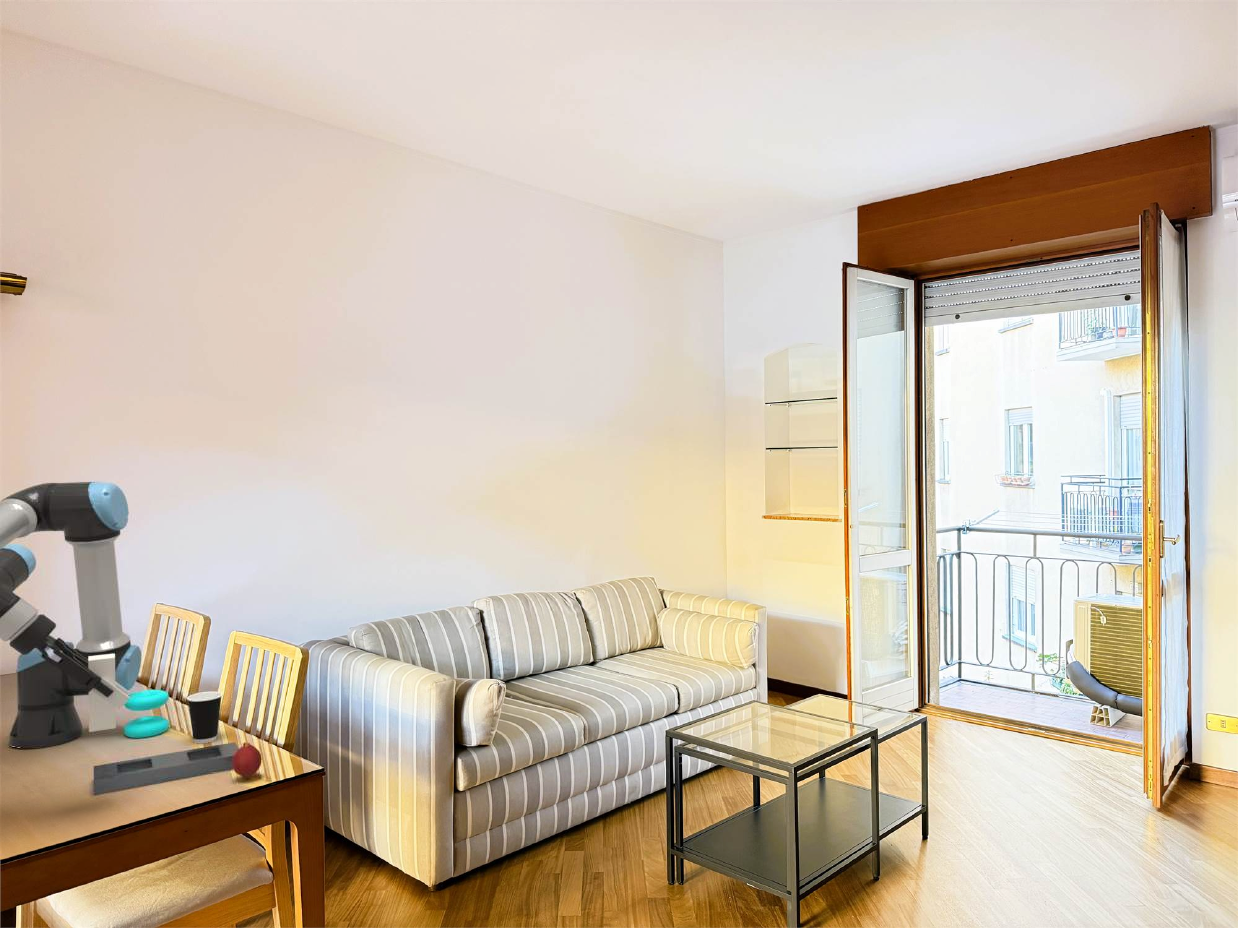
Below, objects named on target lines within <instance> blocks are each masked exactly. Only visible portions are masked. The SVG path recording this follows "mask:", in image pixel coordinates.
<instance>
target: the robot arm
mask: <svg viewBox="0 0 1238 928" xmlns="http://www.w3.org/2000/svg"><path fill="white" fill-rule="evenodd" d="M128 516H129V505H128V501H127V498H126V495H125V493H124V491H123V490H122V489H121V488H120V486H119V485H117V484H115V483H113V482H100V481H83V482H82V481H81V482H80V481H79V482H78V481H77V482H47V483H45V482H44V483H41V484H38V485H33V486H30V487H27V488H24V489H21V490H18V491H16V492H15V493H13V494H10V495H9V496H7V497H4V498H3V499H1V500H0V640H1V641H3V642H7V641H10V642H9V643H8V645H9V646H10V647H11V648H12V649H14V650H15V651H17V652H18V653H20V654H19V656H18V657H17V665H16V672H15V673H16V692H17V693H16V695H17V696H16V697H17V700H16V701H17V714H16V716H15V718H14V721H13V724H12V727H11V731H10V732H9V737H8V741H9V742H8V745H9V744H10V745H11V746H15V747H20V748H32V749H40V748H46V747H53V746H58V745H61V744H65V743H69V742H71V741H74V740H77V739H78V738H79V737H81V736H82V735H83V724H82V720H81V719H80V716H79V714H78V711H77V709H76V706H75V697H77V696H78V697H79V696H89V692H90V691H91V690H93V691H94V692H95V693H97V694H98V695H100V696H101V697H102V698H104V699H105V700H107V701H108V702H109V703H111V704H112V705H114V706H115V707H116V709H118V710H120V709H121V708H122V707H123V706H124V704H125V703H126V702H127V701H128V700H129V699H130V697H129V696H128V695H129V694H130V690H131V689H132V688H133V687H134V685H135V684H136V682H137V680H138V676H139V674H140V671H141V666H142V665H141V664H142V650H141V648H140V647H139V645H136V644H133V645H132V644H131V643H132V642H131V636H130V635H129V634H127V633H125V632H124V630H123V625H122V624H123V623H122V611H121V602H120V601H121V600H120V589H119V578H118V568H117V559H116V548H115V547H116V546H115V541H116V540H117V539H118V538H119V537H120V536H121V531H122V530H123V529H125V528H126V527H127V525H128V521H129V517H128ZM38 532H63V535H64V541H65V542H66V543H68V544H69V545H71V546H72V548H73V558H74V559H73V561H74V567H75V578H76V587H77V588H76V589H77V596H78V597H77V598H78V606H79V607H78V609H79V615H80V617H79V618H80V627H81V634H82V635H81V637H82V638H81V639H80V640H79V641H78V642H77V644H76V646H75V645H74V643H73V642H71V641H65V640H64V639H62V638H61V637H58V638H55V637H53V636H52V635H50V634H51V633H52V632H53V631H54V630H55V629H56V627H57V624H56V623H55V622H54V621H53V620H52V619H50V618H49V617H47V616H46V615H45V614H44V613H43V614H40V613H39V609H37V608H36V607H34V606H33V605H32V604H30V603H29V602H28V601H26V600H25V599H24V598H22V597H21V596H19V595H17V594H16V593H15V592H14V591H15V590H16V589H17V588H19V587H20V586H21V585H22V584H23V583H25V582H26V581H27V580H28V578H29V577H30V576H31V574H32V573H34V570H35V568H36V566H37V559H36V556H35V554H34V552H33V551H31V550H30V548H28V547H26V546H24V545H21V544H17V543H14V544H13V543H11V542H13V541H14V540H16V539H21V538H25V537H28V536H29V535H30V534H32V533H38ZM10 543H11V544H10ZM106 654H115V686H113V685H112V684H111V683H109V682H108V681H107V680H105V679H104V678H102V679H101V677H100V676H98V675H96V674H95V673H94V672H92V671H91V670H90V669H89V668H88V657H89V656H96V655H106Z"/></svg>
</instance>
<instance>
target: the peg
mask: <svg viewBox="0 0 1238 928" xmlns="http://www.w3.org/2000/svg"><path fill="white" fill-rule="evenodd" d="M88 668H89V669H90V670H91V671H92V672H94V673H95V674H96V675H98V676H100V677H101V679H102V678H104V679H105V680H107V681H108V682H109V683H111V684H112V685H113V686H115V654H106V655H96V656H89V657H88ZM116 709H117V708H116V707H115V706H114V705H112V704H111V703H109V702H108V701H107V700H105V699H104V698H102V697H101V696H100V695H98V694H97V693H95V692H94V691H93V690H91V691H90V692H89V695H88V732H89V733H90V732H91V733H92V732H98V731H99V732H100V731H104V730H113V729H116V728H117V726H116V721H117V720H116V719H117V716H116V715H117V714H116V711H117V710H116Z"/></svg>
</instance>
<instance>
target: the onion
mask: <svg viewBox="0 0 1238 928" xmlns="http://www.w3.org/2000/svg"><path fill="white" fill-rule="evenodd" d="M262 759H263V758H262V755H261V752H260V750H259V749H258V748H257V747H256V746H254V745H253V744H251V743H250V742H248V741H244V742H243V743H242V746H241V747H239V749H238V751H237V752H236V753H235V755H234V757H233V760H232V766H233V769H232V770H233V771H234V773H236V774H237V775H238V776H240V777H242V778H243V779H244V778H245V779H246V780H248V779H250V778H251V777H252V776H254V775H255V774H256V773H257V772H258V771H259V769H260V767H261V766H262ZM247 778H248V779H247ZM245 779H244V780H245Z"/></svg>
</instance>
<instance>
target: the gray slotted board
mask: <svg viewBox="0 0 1238 928" xmlns="http://www.w3.org/2000/svg"><path fill="white" fill-rule="evenodd" d="M238 749H240V747H239V746H238V744H237V743H236V741H234V742H233V741H232V742H227V743H222V744H217V745H211V746H210V745H209V746H206V747H205V746H203V747H197V748H193V749H186V750H181V751H175V752H168V753H163V754H157V755H151V756H145V757H140V758H134V759H128V760H122V761H115V762H110V763H104V764H98V765H93V796H96V795H102V794H106V793H112V792H116V791H117V792H118V791H123V790H130V789H134V788H140V787H145V786H146V787H147V786H151V785H157V784H161V783H167V782H171V781H177V780H183V779H188V777H189V778H194V777H199V776H198V775H200V776H205V775H209V774H214V773H213V772H216V773H221V772H226V771H231V769H232V770H234V769H233V766H232V760H233V757H234V755H235V753H236V752H237V751H238ZM220 771H221V772H220Z"/></svg>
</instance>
